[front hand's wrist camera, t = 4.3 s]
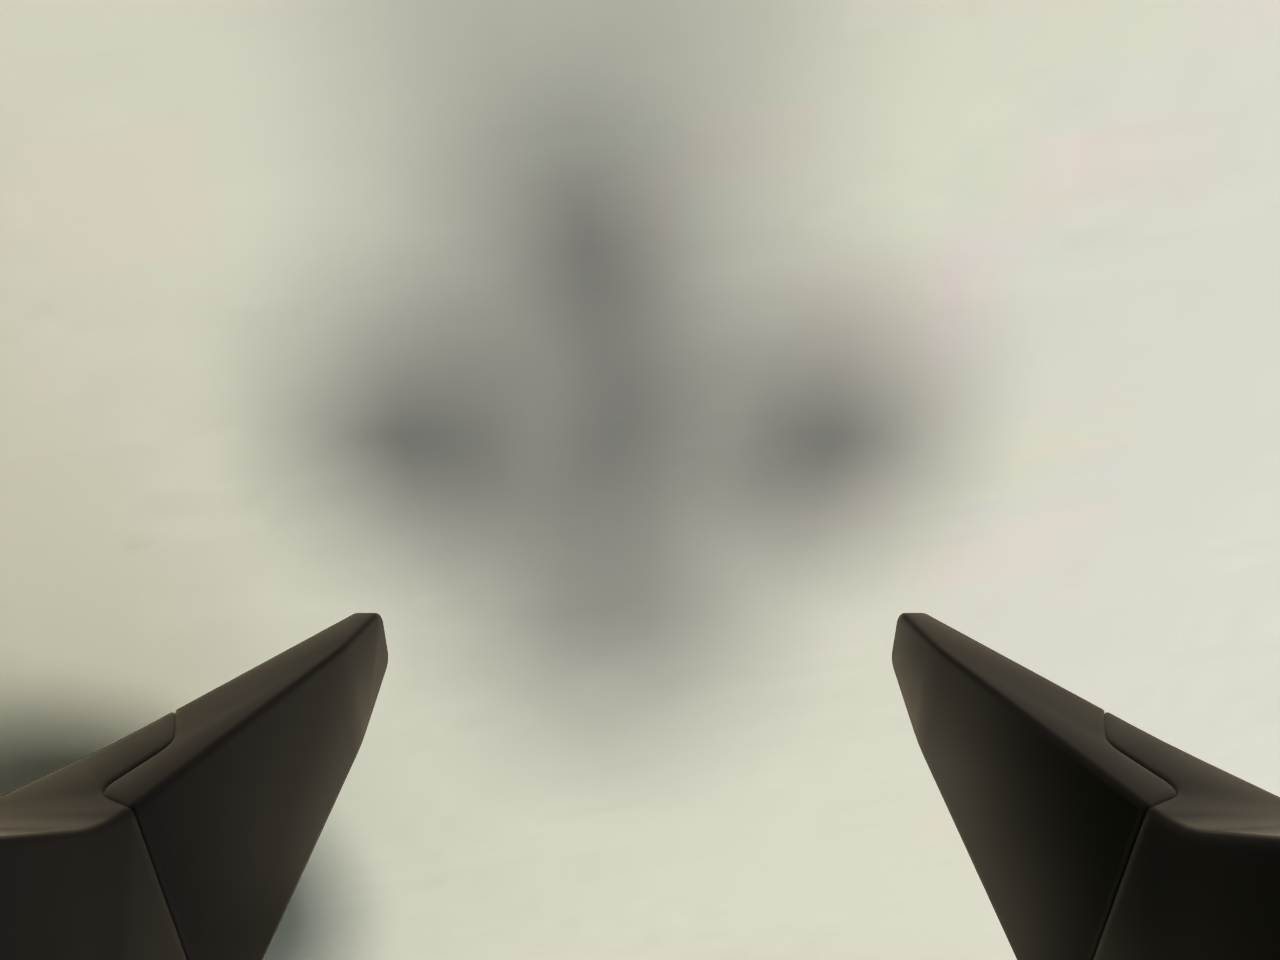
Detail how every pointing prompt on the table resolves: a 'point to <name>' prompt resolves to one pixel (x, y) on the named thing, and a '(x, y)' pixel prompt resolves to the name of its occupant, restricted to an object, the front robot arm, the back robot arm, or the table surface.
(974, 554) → the table surface
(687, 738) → the table surface
